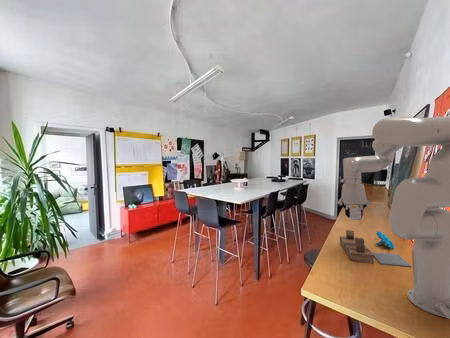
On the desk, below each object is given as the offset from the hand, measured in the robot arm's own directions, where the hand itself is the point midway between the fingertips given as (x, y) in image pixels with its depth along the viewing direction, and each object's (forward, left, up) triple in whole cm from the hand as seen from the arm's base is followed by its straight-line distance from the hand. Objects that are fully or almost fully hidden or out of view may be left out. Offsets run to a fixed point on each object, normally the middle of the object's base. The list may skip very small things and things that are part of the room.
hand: (353, 216), depth 102 cm
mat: (-6, -12, -18) cm, 23 cm away
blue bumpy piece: (+11, -17, -19) cm, 28 cm away
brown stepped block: (0, 0, -18) cm, 18 cm away
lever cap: (0, 0, -1) cm, 1 cm away
